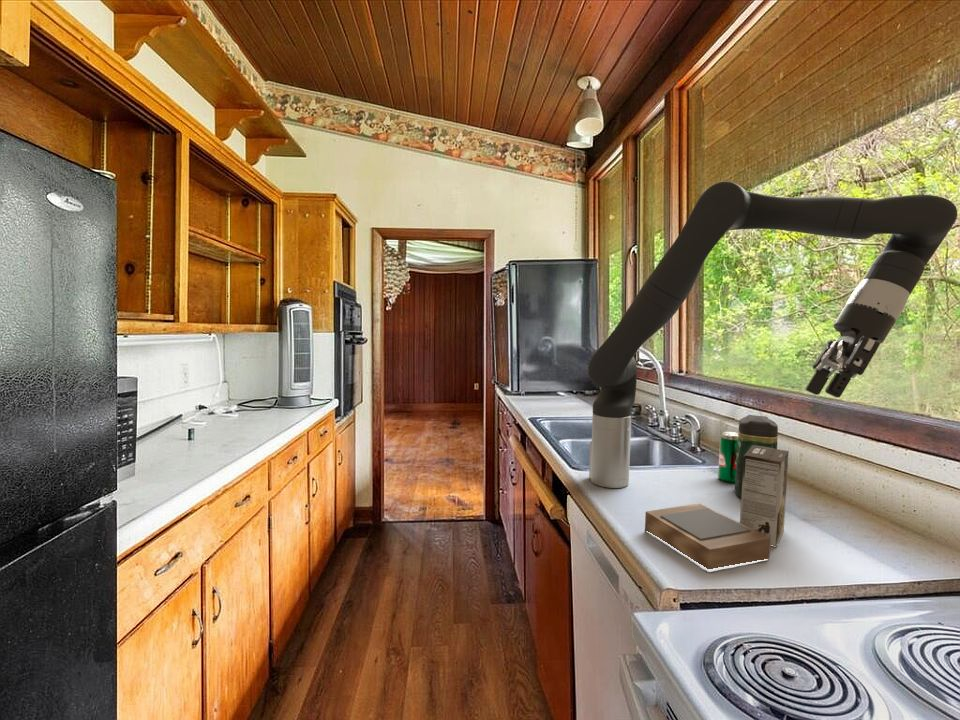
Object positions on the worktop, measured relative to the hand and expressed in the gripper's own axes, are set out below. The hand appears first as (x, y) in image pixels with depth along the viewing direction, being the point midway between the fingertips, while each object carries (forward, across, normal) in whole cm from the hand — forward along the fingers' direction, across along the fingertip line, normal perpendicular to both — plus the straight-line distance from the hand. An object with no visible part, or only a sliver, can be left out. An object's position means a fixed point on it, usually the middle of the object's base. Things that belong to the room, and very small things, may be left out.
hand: (821, 393), depth 86 cm
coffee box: (+28, -6, +6) cm, 29 cm away
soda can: (+24, -38, +5) cm, 46 cm away
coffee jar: (+24, -28, +9) cm, 38 cm away
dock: (+34, +2, -4) cm, 34 cm away
